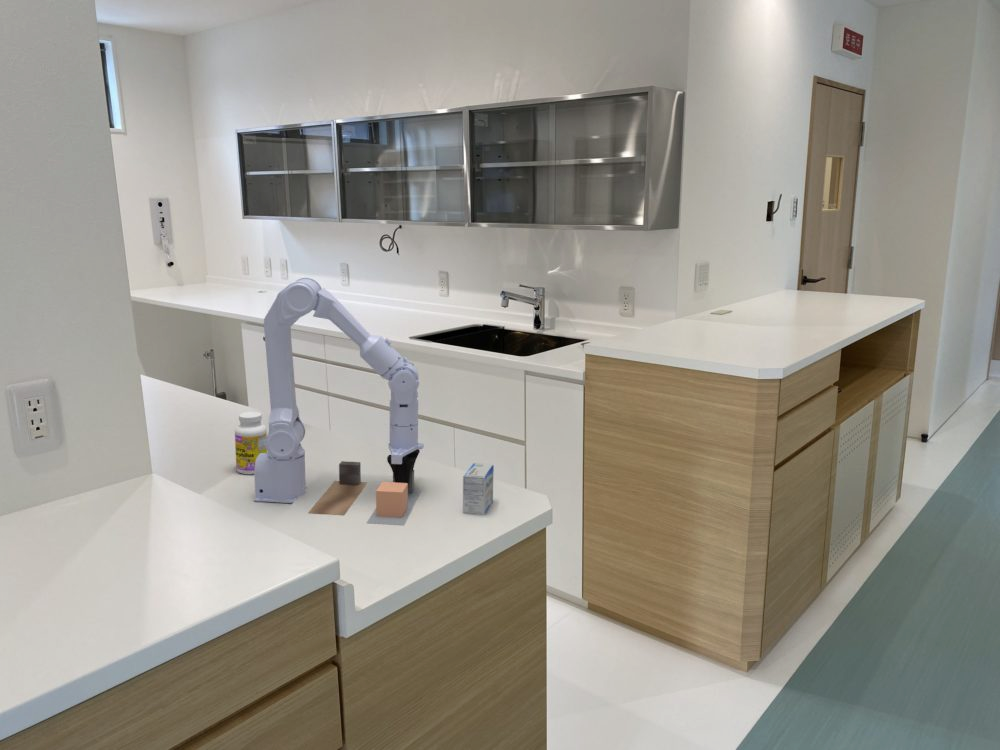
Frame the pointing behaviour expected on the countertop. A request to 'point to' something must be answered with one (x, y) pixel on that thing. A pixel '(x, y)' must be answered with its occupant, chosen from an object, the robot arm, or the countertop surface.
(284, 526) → the countertop surface
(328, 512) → the walnut strip
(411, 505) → the slate strip
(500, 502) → the countertop surface
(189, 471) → the countertop surface
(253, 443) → the supplement bottle
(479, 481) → the medicine box
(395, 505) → the terracotta block
